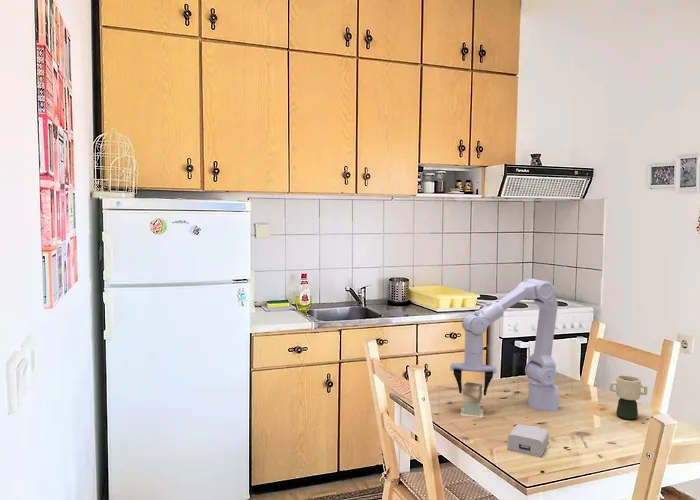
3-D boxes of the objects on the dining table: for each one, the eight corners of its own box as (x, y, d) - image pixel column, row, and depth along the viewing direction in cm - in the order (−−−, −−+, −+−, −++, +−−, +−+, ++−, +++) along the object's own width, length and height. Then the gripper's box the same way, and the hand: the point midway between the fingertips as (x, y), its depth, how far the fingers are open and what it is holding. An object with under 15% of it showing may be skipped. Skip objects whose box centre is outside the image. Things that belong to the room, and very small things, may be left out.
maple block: (481, 399, 177) (482, 384, 176) (477, 403, 172) (478, 388, 172) (466, 396, 179) (466, 381, 179) (462, 401, 174) (462, 386, 174)
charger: (552, 438, 159) (542, 458, 146) (520, 432, 163) (507, 450, 151) (552, 422, 158) (542, 441, 146) (520, 416, 163) (508, 433, 150)
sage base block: (480, 410, 178) (480, 398, 177) (479, 415, 173) (480, 403, 173) (464, 408, 179) (464, 397, 179) (463, 414, 174) (464, 402, 174)
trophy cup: (644, 416, 177) (646, 376, 177) (647, 423, 171) (649, 383, 170) (607, 411, 181) (609, 373, 181) (609, 418, 175) (611, 378, 174)
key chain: (559, 432, 164) (559, 429, 164) (585, 436, 161) (585, 433, 161) (561, 449, 152) (561, 446, 152) (590, 453, 149) (590, 450, 149)
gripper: (496, 350, 177) (495, 391, 178) (451, 347, 180) (450, 387, 181) (497, 356, 170) (495, 398, 171) (450, 352, 173) (449, 394, 174)
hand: (472, 393), depth 175 cm, fingers open, 7 cm apart
